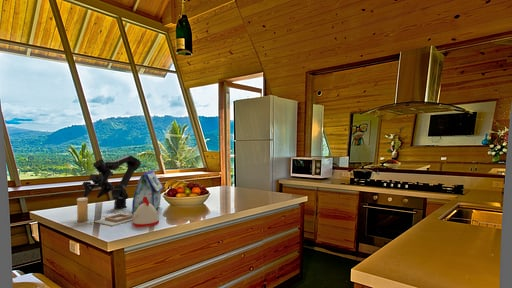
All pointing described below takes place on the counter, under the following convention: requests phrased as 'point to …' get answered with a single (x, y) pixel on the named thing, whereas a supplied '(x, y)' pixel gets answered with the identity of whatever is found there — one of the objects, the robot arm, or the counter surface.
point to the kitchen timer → (145, 215)
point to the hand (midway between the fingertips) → (90, 197)
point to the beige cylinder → (82, 209)
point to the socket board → (115, 219)
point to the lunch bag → (147, 190)
